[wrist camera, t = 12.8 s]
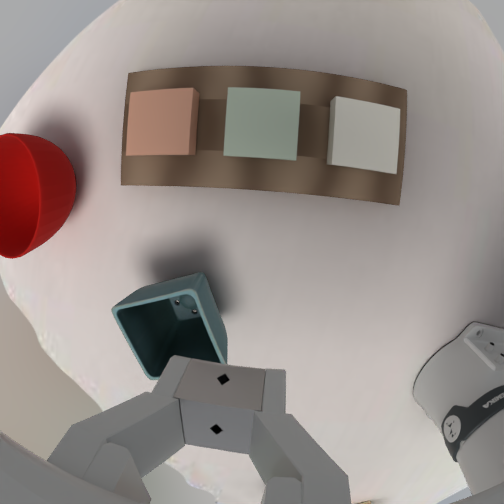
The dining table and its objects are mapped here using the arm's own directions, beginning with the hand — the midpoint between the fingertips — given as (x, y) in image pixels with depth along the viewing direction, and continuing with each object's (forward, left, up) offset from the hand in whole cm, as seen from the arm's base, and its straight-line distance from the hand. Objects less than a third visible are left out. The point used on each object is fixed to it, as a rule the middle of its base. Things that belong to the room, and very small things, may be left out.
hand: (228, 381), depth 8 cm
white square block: (-9, -9, -24) cm, 27 cm away
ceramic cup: (+27, -2, -24) cm, 37 cm away
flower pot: (+7, +10, -24) cm, 27 cm away
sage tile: (0, -9, -24) cm, 25 cm away
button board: (0, -9, -24) cm, 26 cm away
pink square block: (+9, -9, -24) cm, 27 cm away
